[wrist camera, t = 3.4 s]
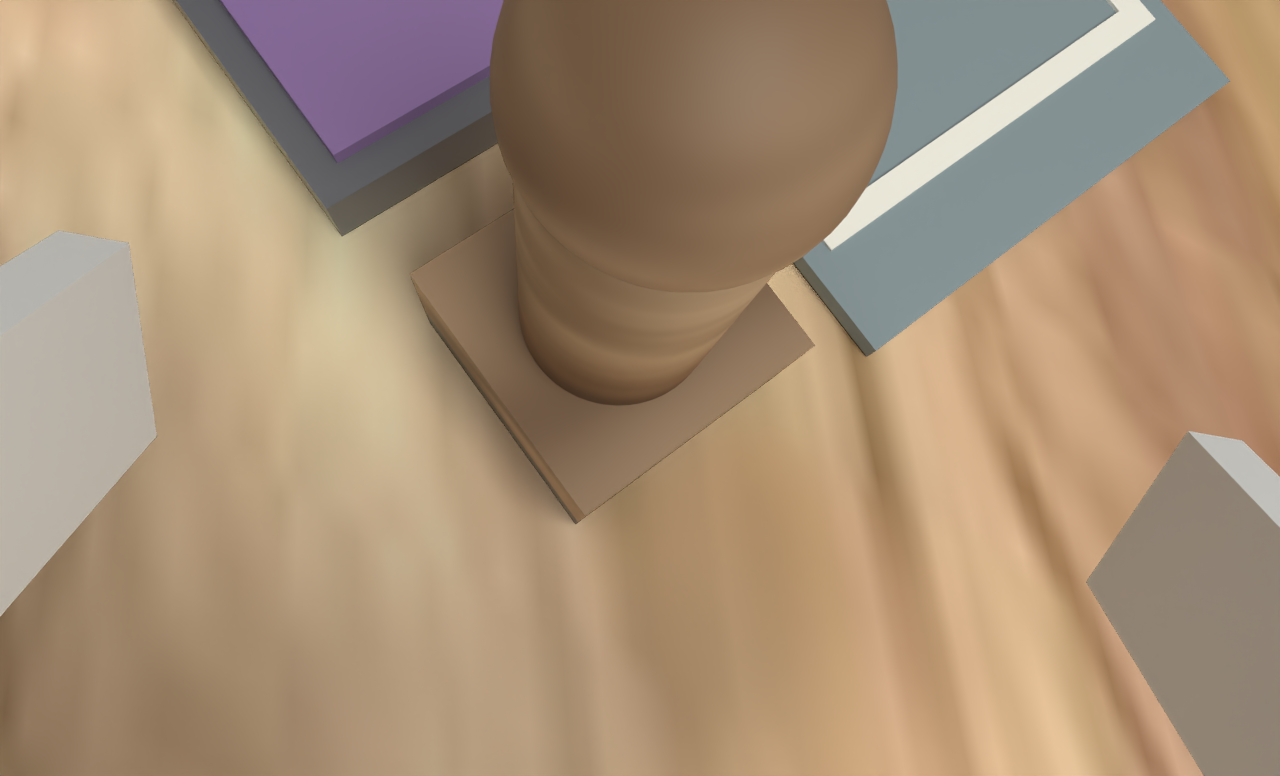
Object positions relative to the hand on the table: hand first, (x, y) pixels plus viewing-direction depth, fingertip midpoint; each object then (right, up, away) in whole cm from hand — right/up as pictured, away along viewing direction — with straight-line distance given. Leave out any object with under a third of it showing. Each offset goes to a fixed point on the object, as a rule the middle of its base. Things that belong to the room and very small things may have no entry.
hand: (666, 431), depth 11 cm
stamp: (-1, +1, +10) cm, 10 cm away
